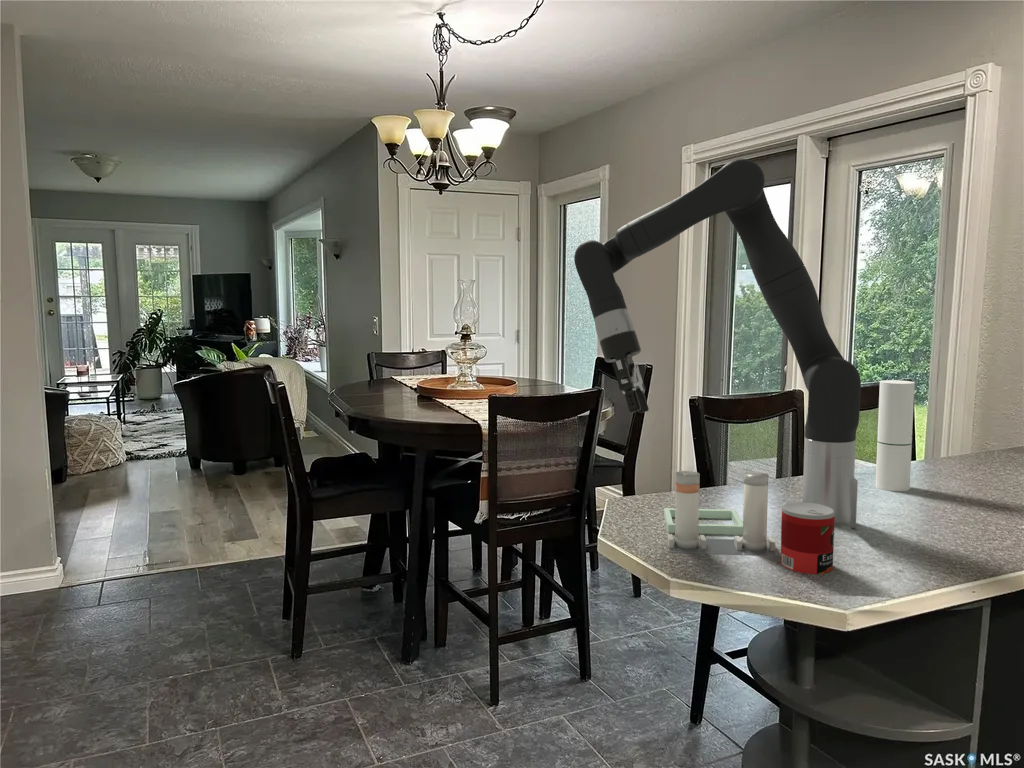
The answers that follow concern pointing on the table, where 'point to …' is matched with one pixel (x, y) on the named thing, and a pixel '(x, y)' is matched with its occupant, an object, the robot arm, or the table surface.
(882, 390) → the cylindrical container
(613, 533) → the table surface
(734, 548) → the clip block
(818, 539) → the canned food
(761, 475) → the plain fuse
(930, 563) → the table surface
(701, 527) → the tray
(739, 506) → the table surface
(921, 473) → the table surface
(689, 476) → the cylinder
